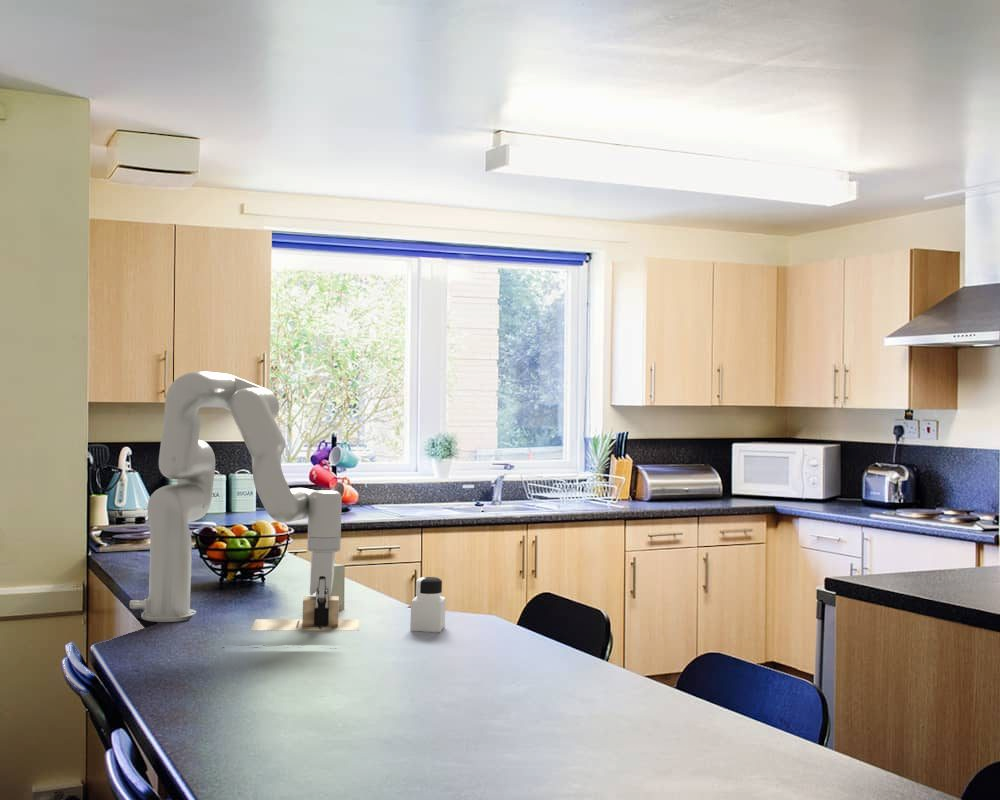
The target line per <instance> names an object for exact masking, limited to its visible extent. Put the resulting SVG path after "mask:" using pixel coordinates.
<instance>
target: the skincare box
mask: <svg viewBox="0 0 1000 800" xmlns="http://www.w3.org/2000/svg"><path fill="white" fill-rule="evenodd" d="M345 577H346V576H345V564H341V563H337V562H334V578H333V586H332V591H331V594H330V595H329V596H339V611H341V610H345Z"/></svg>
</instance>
